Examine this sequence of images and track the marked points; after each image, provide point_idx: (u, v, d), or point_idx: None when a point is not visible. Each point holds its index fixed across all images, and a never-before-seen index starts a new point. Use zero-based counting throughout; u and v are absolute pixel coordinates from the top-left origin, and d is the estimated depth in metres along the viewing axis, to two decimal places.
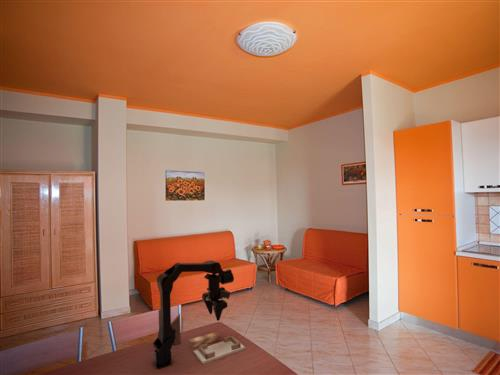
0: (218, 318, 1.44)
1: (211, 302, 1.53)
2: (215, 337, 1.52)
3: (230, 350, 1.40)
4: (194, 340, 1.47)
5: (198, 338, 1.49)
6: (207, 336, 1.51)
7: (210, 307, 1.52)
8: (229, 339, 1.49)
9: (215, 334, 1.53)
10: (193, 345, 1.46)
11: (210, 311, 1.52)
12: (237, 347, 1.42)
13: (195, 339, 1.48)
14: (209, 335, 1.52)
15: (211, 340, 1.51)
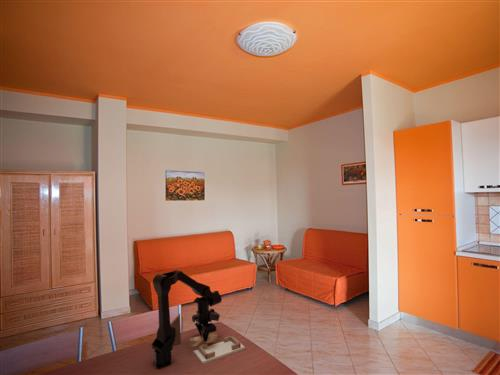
0: (206, 339, 1.48)
1: (203, 326, 1.53)
2: (215, 337, 1.51)
3: (230, 350, 1.40)
4: (194, 339, 1.48)
5: (198, 337, 1.50)
6: None
7: None
8: (229, 339, 1.49)
9: (215, 334, 1.52)
10: (192, 344, 1.46)
11: (202, 335, 1.52)
12: (237, 347, 1.42)
13: (195, 338, 1.49)
14: (209, 335, 1.52)
15: (211, 340, 1.50)
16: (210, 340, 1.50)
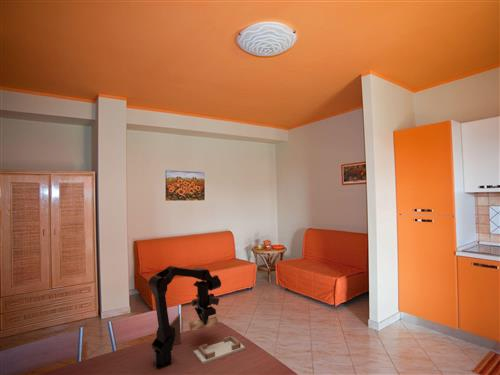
0: (205, 323, 1.49)
1: (202, 310, 1.53)
2: (215, 321, 1.51)
3: (230, 350, 1.40)
4: (193, 323, 1.48)
5: (198, 321, 1.50)
6: None
7: None
8: (229, 339, 1.49)
9: (215, 318, 1.52)
10: (192, 327, 1.47)
11: (201, 319, 1.52)
12: (237, 347, 1.42)
13: (194, 322, 1.49)
14: (209, 319, 1.52)
15: (211, 324, 1.50)
16: (210, 324, 1.50)
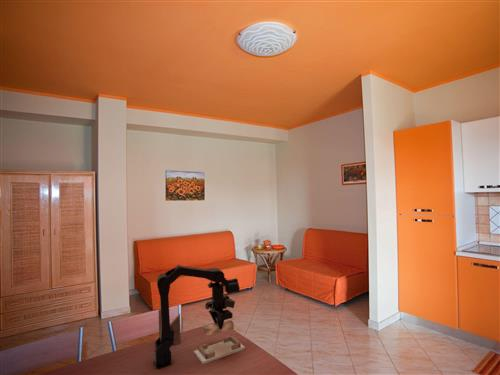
0: (221, 327, 1.40)
1: (217, 313, 1.44)
2: (230, 325, 1.43)
3: (230, 350, 1.40)
4: (208, 327, 1.39)
5: (212, 325, 1.41)
6: None
7: None
8: (229, 339, 1.49)
9: (230, 322, 1.44)
10: (207, 332, 1.38)
11: None
12: (237, 347, 1.42)
13: (209, 326, 1.40)
14: (224, 323, 1.43)
15: (226, 328, 1.42)
16: (225, 328, 1.41)
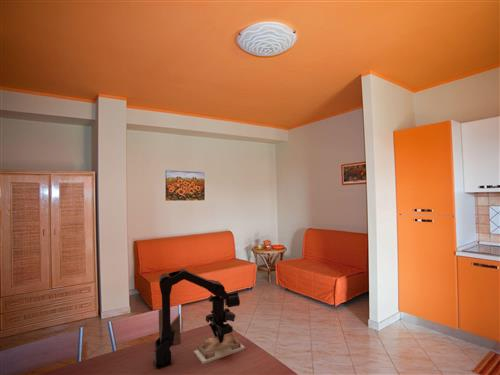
0: (221, 340, 1.40)
1: (217, 326, 1.44)
2: (231, 338, 1.43)
3: (230, 350, 1.40)
4: (208, 341, 1.39)
5: (213, 339, 1.41)
6: None
7: None
8: None
9: (231, 335, 1.44)
10: (207, 346, 1.38)
11: (216, 336, 1.43)
12: (237, 347, 1.42)
13: (209, 340, 1.40)
14: (225, 336, 1.43)
15: (227, 341, 1.42)
16: (226, 341, 1.41)
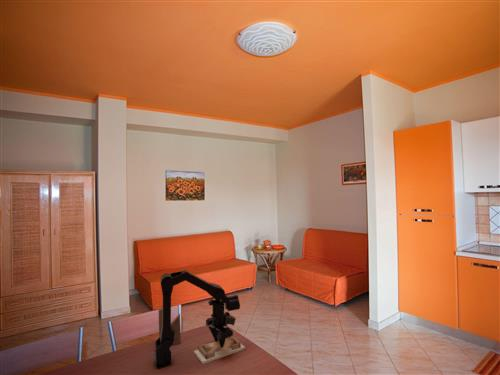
0: (222, 345, 1.39)
1: (217, 329, 1.45)
2: (231, 343, 1.43)
3: (230, 350, 1.40)
4: (209, 345, 1.39)
5: (213, 343, 1.41)
6: None
7: (216, 334, 1.45)
8: None
9: (231, 340, 1.44)
10: (207, 351, 1.38)
11: (216, 339, 1.44)
12: (237, 347, 1.42)
13: (210, 345, 1.40)
14: (225, 341, 1.43)
15: (227, 346, 1.42)
16: (226, 346, 1.41)
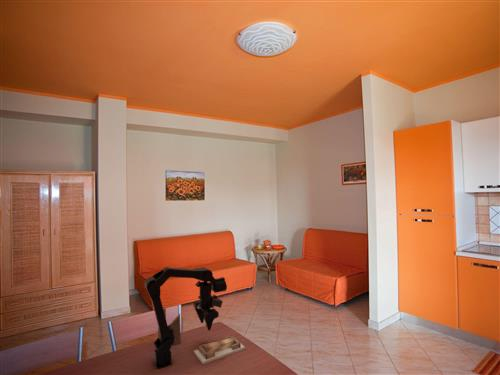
0: (209, 328, 1.39)
1: (203, 310, 1.48)
2: (231, 343, 1.43)
3: (230, 350, 1.40)
4: (209, 345, 1.39)
5: (213, 343, 1.41)
6: (223, 342, 1.42)
7: (202, 315, 1.47)
8: None
9: (231, 340, 1.44)
10: (207, 351, 1.38)
11: (201, 320, 1.47)
12: (237, 347, 1.42)
13: (210, 345, 1.40)
14: (225, 341, 1.43)
15: (227, 346, 1.42)
16: (226, 346, 1.41)
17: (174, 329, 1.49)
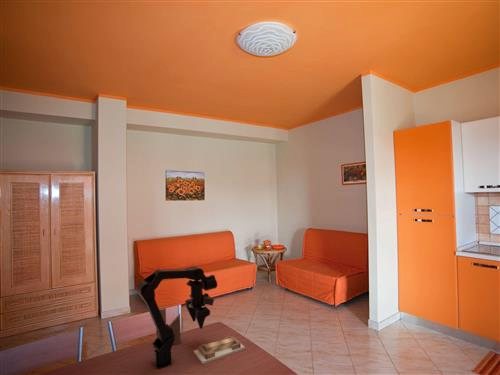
0: (201, 326, 1.40)
1: (194, 309, 1.49)
2: (231, 343, 1.43)
3: (230, 350, 1.40)
4: (209, 345, 1.39)
5: (213, 343, 1.41)
6: (223, 342, 1.42)
7: (194, 314, 1.48)
8: None
9: (231, 340, 1.44)
10: (207, 351, 1.38)
11: (193, 318, 1.48)
12: (237, 347, 1.42)
13: (210, 345, 1.40)
14: (225, 341, 1.43)
15: (227, 346, 1.42)
16: (226, 346, 1.41)
17: (174, 329, 1.49)
